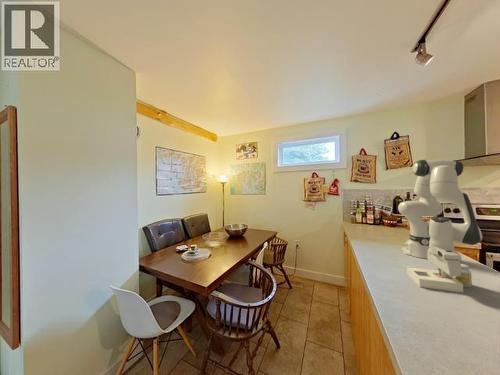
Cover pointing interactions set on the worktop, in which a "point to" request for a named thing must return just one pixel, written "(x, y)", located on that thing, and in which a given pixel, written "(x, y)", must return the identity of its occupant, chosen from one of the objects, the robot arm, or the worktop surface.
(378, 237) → the worktop surface
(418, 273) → the charcoal key
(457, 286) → the console
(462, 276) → the supplement bottle
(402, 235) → the worktop surface
